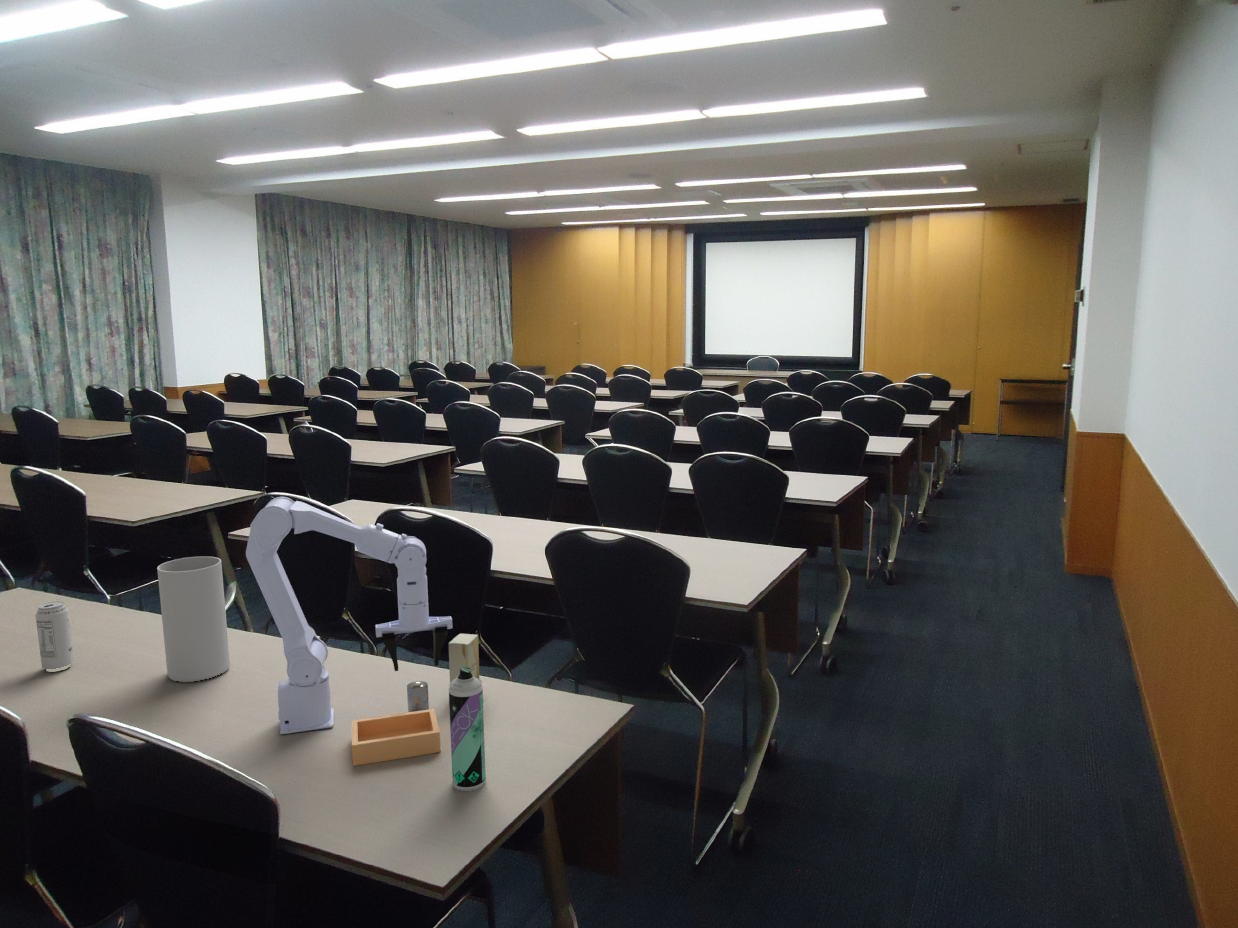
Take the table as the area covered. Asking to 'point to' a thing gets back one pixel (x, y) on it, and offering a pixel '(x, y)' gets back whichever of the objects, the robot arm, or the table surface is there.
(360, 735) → the trough
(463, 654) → the skincare box
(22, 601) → the table surface
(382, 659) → the table surface
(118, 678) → the table surface
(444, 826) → the table surface
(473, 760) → the spray can
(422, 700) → the cell
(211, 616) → the cylinder vase
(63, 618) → the energy drink can
